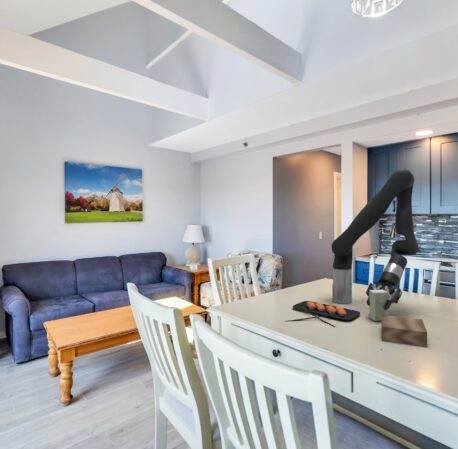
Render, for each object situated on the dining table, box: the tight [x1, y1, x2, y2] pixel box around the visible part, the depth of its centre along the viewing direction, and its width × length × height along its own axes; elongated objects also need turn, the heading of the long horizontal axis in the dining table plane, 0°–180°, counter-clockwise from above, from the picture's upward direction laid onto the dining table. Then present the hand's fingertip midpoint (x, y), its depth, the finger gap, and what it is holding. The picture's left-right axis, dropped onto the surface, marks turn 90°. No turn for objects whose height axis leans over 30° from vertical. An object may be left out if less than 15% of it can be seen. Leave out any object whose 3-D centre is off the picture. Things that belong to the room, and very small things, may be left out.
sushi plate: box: [284, 300, 361, 328], centre depth 141 cm, size 29×30×4 cm
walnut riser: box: [380, 315, 428, 347], centre depth 117 cm, size 14×14×5 cm
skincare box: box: [369, 290, 389, 321], centre depth 134 cm, size 6×4×12 cm
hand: (376, 306), depth 133 cm, fingers closed on skincare box, 7 cm apart
